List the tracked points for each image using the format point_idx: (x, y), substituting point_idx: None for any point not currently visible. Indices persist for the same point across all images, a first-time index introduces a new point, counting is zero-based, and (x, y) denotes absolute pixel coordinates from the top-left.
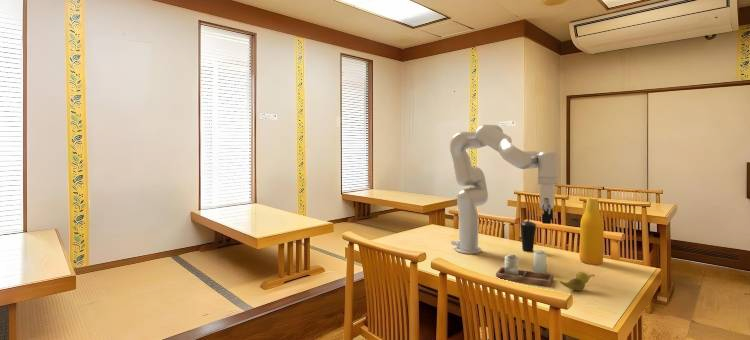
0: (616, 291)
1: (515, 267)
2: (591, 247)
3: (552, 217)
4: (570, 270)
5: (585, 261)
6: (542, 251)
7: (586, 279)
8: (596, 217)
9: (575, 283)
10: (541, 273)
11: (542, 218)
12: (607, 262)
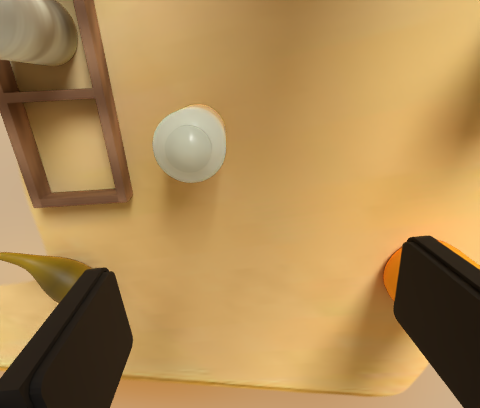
0: (147, 346)
1: None
2: None
3: (408, 334)
4: (279, 227)
5: (391, 262)
6: (191, 163)
7: None
8: None
9: (42, 288)
10: (109, 160)
11: (56, 315)
12: None
